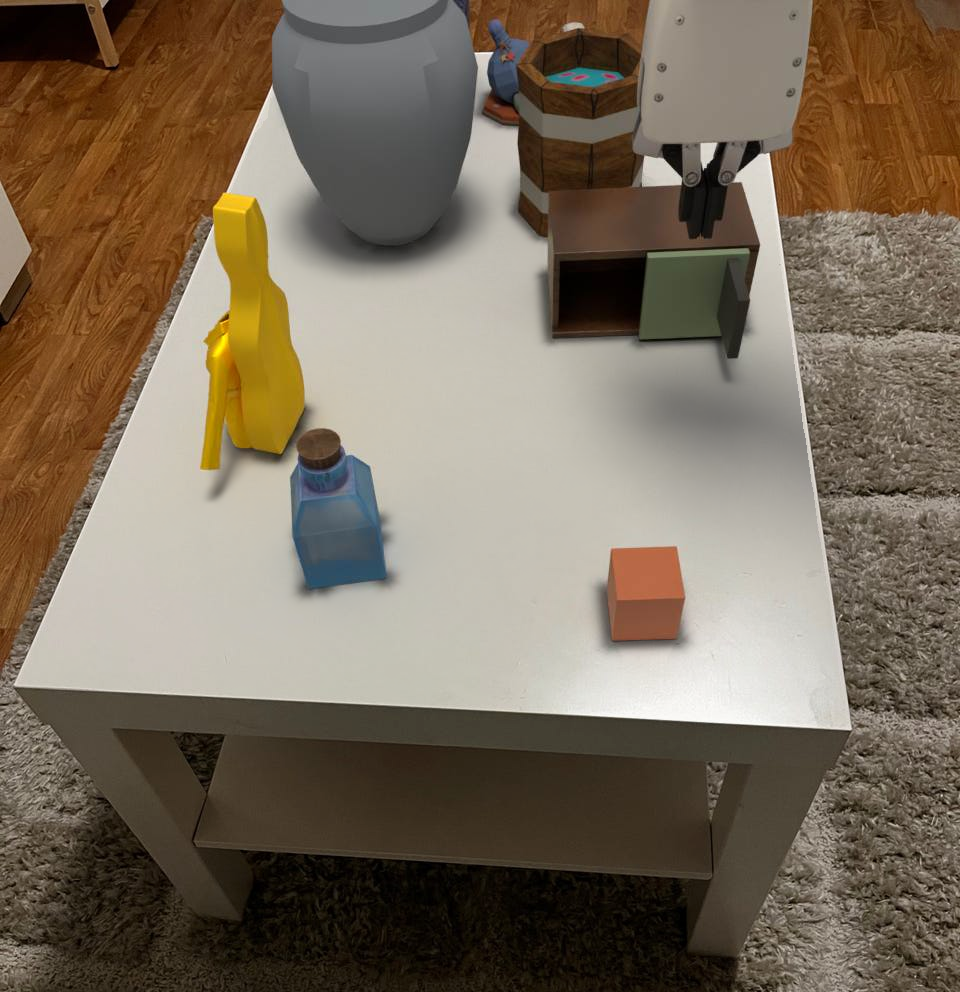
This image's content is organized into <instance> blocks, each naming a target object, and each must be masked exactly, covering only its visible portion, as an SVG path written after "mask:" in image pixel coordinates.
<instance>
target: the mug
mask: <svg viewBox="0 0 960 992" xmlns="http://www.w3.org/2000/svg"><path fill="white" fill-rule="evenodd" d="M529 43H530V45H529V46H528V48H527V49H526V51H525V52H524V54H523V55H522V57H521V58H520V60H519V61H518V63H517V64H516V69H517V77H518V85H519V114H520V115H519V126H518V129H517V143H516V144H517V153H518V162H519V198H518V200H519V201H518V206H517V213H518V214H519V215H520V216H521V218H523V219H524V220H525V221H526V222H527V224H528V225H529V226H530V227H531V228H532V229H533V230H534V231H535V232H536V233H537V235H538V236H540V237H543V238H544V237H545V238H548V192H549V191H561V190H582V189H604V188H625V187H643V171H644V161H645V156H644V155H640V154H636V153H635V152H634V151H633V148H632V142H631V137H632V133H633V130H634V127H635V124H636V121H637V118H638V115H639V112H640V111H638V108H637V88H638V77H639V69H640V61H641V53H642V46H643V42H641V41H639V40H638V39H637V38H636V37H634V36H633V35H631V33H628V32H618V31H610V30H599V29H592V28H591V29H590V28H585V26H584V24H583V23H582V22H575V21H573V22H569V23H565V24H564V25H563V26H562V27H561V32H559V33H555V34H551V35H548V36H544V37H540V38H537V39H533V40H531V42H529Z"/></svg>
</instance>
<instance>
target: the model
mask: <svg viewBox="0 0 960 992" xmlns="http://www.w3.org/2000/svg"><path fill="white" fill-rule="evenodd" d="M487 31H488V33H489V35H490V37H491V39H492V40H493V42H494V44H495V47H496V48H495V49H494V50H493V52H492V54H491V56H490V58H489V59H488V63H487V69H486V75H487V80H488V85H489V87H490V91H489V94H488V96H487V98H486V101H485V102H484V104H483V107H482V109H481V114H482V115H483V116H486V117H488V118H489V119H492V120H493V121H495V122H497V123H500V124H501V125H503V126H504V125H505V126H517V127H519V115H520V114H519V85H518V77H517V69H516V64H517V63H518V61H519V60H520V58H521V57H522V55H523V54H524V52H525V51H526V49H527V48H528V46H529V45H530V43H531V42H529V41H527V40H522V39H518V38H510V35H509V34H508V33H507V32H506V29H505V28H504V24H503V22H502V21H501V20H500V19H498V18H494V19H492V20H490V21H489V22H488V26H487Z"/></svg>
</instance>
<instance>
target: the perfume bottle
mask: <svg viewBox="0 0 960 992" xmlns="http://www.w3.org/2000/svg"><path fill="white" fill-rule="evenodd" d="M341 442H342V440H341V437H340V435H339V434H338V432H336V431H335V430H332V429H330V428H327V427H326V428H325V427H317V428H313V429H309V430H308V431H305V432H304V433H302V434H301V436H299V437H298V439H297V440H296V443H295V444H296V445H295V448H296V451H297V453H298V454H297V459H296V460H297V463H296V466H295V467H294V470H293V471H292V473H291V474H290V476H289V486H290V509H291V533H292V534H291V535H292V536H291V537H292V540H293V543H294V546H295V550H296V553H297V556H298V559H299V563H300V566H301V570H302V573H303V576H304V579H305V582H306V586H307V589H308V590H312V589H318V588H327V587H333V586H341V585H349V584H354V583H362V582H370V581H377V580H384V579H387V578H388V577H387V568H386V558H385V550H384V542H383V540H384V539H383V533H382V524H381V517H380V511H379V507H378V501H377V497H376V491H375V485H374V480H373V475H372V474H373V473H372V470H371V466H370V465H369V464H367V463H366V462H364V461H362V460H361V459H360V458H358V457H357V456H355V455H353V454H347V453H346V450H345V447H344V446H343V445H342V444H341Z"/></svg>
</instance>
